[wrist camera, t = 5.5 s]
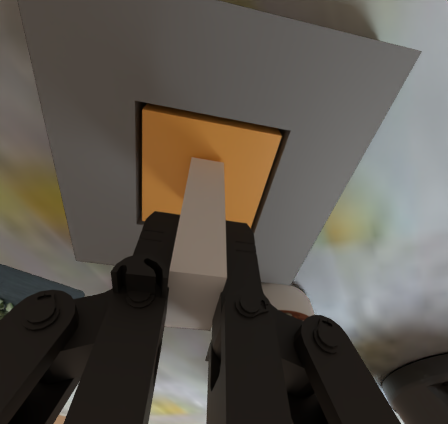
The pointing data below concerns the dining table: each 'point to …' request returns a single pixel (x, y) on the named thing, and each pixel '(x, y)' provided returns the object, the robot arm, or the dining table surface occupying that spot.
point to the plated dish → (25, 287)
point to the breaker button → (204, 149)
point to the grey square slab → (204, 109)
